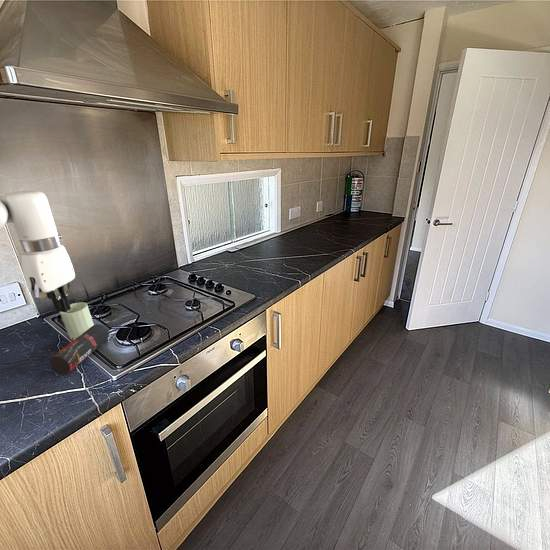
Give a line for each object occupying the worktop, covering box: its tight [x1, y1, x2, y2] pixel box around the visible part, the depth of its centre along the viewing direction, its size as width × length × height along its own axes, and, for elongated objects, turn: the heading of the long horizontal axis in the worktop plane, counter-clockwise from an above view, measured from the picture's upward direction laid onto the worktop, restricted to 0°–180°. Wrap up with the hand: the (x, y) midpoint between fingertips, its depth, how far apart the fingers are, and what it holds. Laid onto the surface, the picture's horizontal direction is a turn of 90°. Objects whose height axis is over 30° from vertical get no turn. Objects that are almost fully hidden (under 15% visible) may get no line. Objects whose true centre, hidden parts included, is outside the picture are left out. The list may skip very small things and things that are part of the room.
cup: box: [59, 301, 95, 341], centre depth 94 cm, size 7×7×10 cm
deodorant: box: [49, 324, 110, 375], centre depth 84 cm, size 6×6×15 cm
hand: (63, 310), depth 78 cm, fingers closed
